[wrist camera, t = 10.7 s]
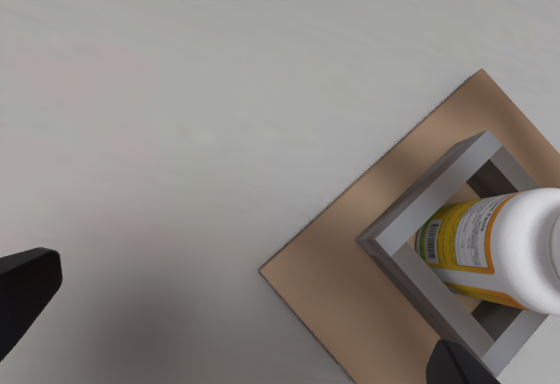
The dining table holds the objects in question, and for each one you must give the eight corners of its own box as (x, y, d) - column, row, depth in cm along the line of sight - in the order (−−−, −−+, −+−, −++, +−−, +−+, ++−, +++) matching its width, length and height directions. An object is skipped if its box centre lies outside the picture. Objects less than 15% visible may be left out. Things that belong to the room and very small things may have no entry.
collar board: (414, 449, 20) (459, 502, 16) (258, 269, 21) (264, 276, 17) (604, 225, 24) (680, 221, 20) (470, 76, 25) (518, 43, 20)
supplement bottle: (510, 262, 22) (729, 278, 12) (445, 311, 21) (627, 370, 11) (463, 188, 22) (640, 147, 12) (396, 233, 21) (533, 225, 11)
